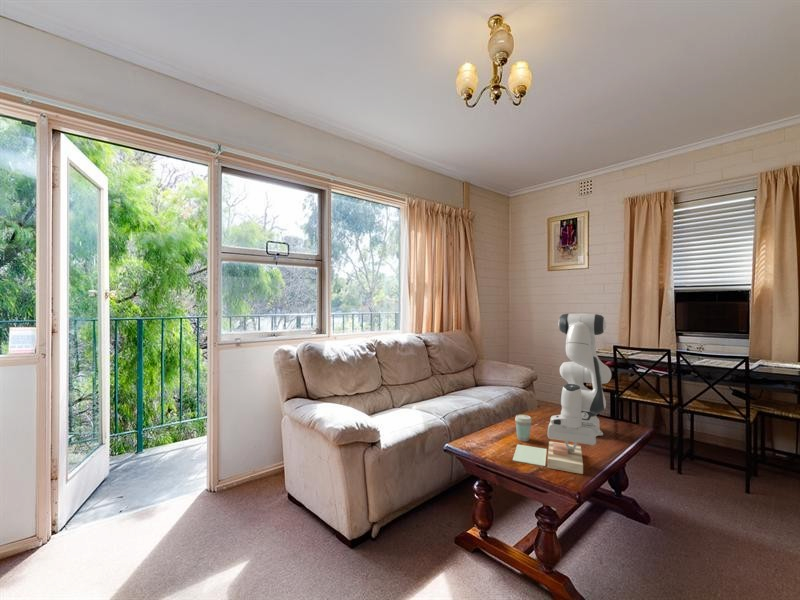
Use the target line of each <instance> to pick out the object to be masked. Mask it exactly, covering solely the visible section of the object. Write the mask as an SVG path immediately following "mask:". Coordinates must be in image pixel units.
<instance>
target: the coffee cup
mask: <svg viewBox="0 0 800 600" xmlns="http://www.w3.org/2000/svg"><path fill="white" fill-rule="evenodd" d="M514 421H515V429H516V438H517V440H518V441H520V442H528V441H529V440H530V436H531V435H530V434H531V427H532V422H533V420H532V417H531V416H530V415H526V414H516V415H515V418H514Z"/></svg>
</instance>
